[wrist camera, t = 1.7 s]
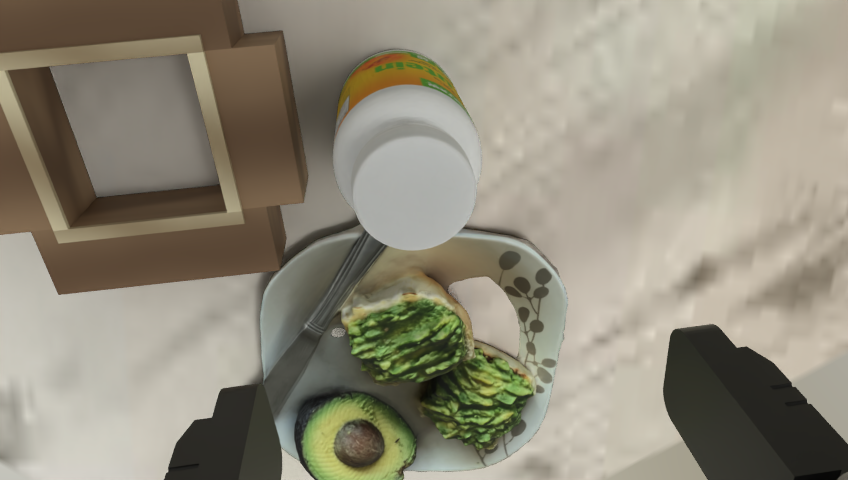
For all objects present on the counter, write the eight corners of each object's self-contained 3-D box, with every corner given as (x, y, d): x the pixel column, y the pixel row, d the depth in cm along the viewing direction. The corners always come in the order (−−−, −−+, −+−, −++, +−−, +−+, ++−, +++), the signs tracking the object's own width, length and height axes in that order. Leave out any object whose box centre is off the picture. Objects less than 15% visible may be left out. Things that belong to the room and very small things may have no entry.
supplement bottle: (470, 63, 27) (522, 133, 19) (439, 174, 29) (473, 281, 21) (350, 33, 26) (346, 94, 17) (328, 151, 28) (315, 255, 20)
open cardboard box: (-73, -25, 23) (-132, -17, 21) (267, -54, 24) (256, -49, 21) (51, 264, 30) (19, 301, 27) (318, 235, 30) (314, 268, 28)
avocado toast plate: (231, 154, 28) (210, 194, 24) (596, 177, 31) (632, 217, 27) (244, 453, 37) (230, 519, 33) (526, 452, 40) (545, 514, 36)
